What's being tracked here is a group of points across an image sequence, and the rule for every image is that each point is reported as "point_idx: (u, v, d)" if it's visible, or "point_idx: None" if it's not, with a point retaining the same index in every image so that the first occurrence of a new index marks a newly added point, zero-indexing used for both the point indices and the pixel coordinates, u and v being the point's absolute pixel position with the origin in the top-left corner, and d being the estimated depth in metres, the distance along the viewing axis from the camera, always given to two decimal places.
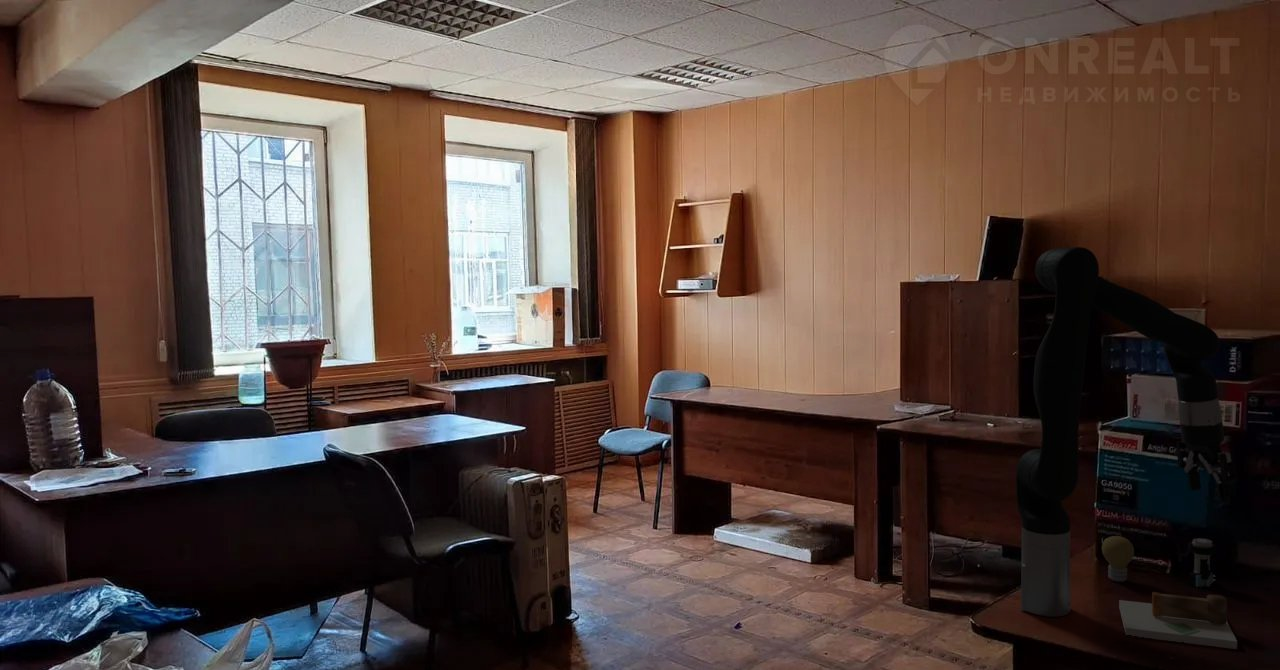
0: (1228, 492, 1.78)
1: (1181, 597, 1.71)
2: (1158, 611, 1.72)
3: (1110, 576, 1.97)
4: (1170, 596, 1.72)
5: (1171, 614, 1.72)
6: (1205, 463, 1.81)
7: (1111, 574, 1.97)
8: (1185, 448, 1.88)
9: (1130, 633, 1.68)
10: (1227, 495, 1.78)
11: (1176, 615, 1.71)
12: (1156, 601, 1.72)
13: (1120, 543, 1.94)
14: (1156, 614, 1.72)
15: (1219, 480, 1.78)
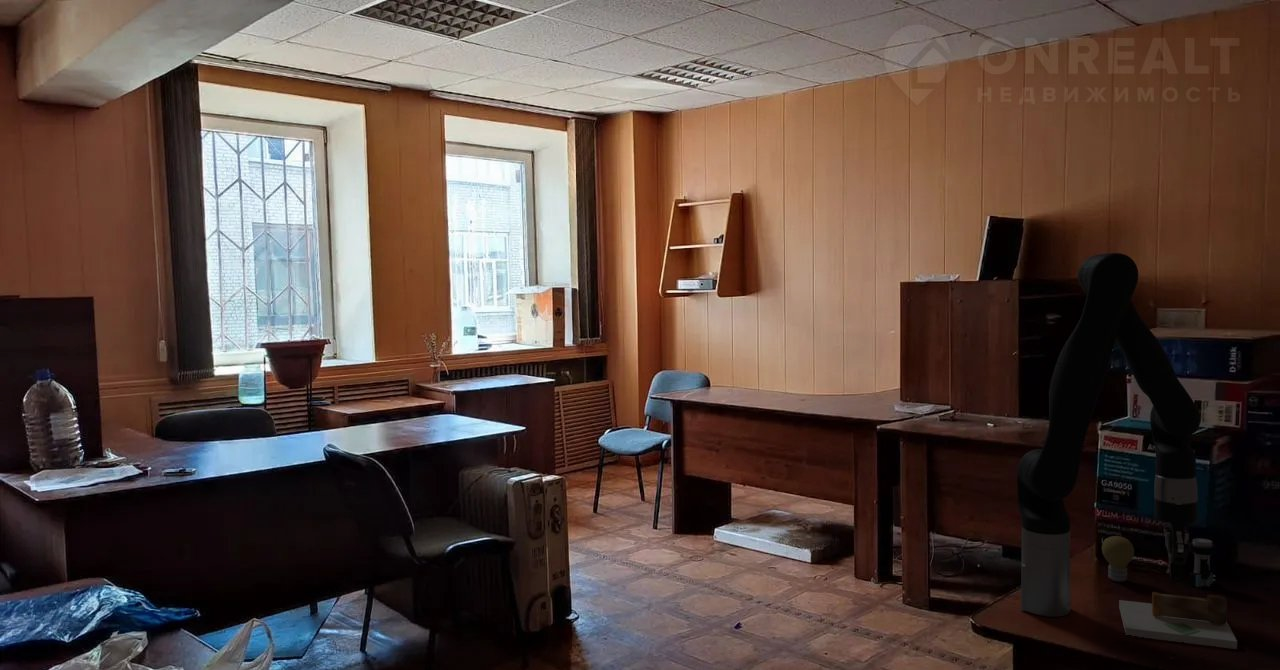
0: (1179, 573, 1.77)
1: (1181, 597, 1.71)
2: (1158, 611, 1.72)
3: (1110, 576, 1.97)
4: (1170, 596, 1.72)
5: (1171, 614, 1.72)
6: (1167, 540, 1.78)
7: (1111, 574, 1.97)
8: None
9: (1130, 633, 1.68)
10: (1177, 576, 1.77)
11: (1176, 615, 1.71)
12: (1156, 601, 1.72)
13: (1120, 543, 1.94)
14: (1156, 614, 1.72)
15: (1170, 559, 1.78)
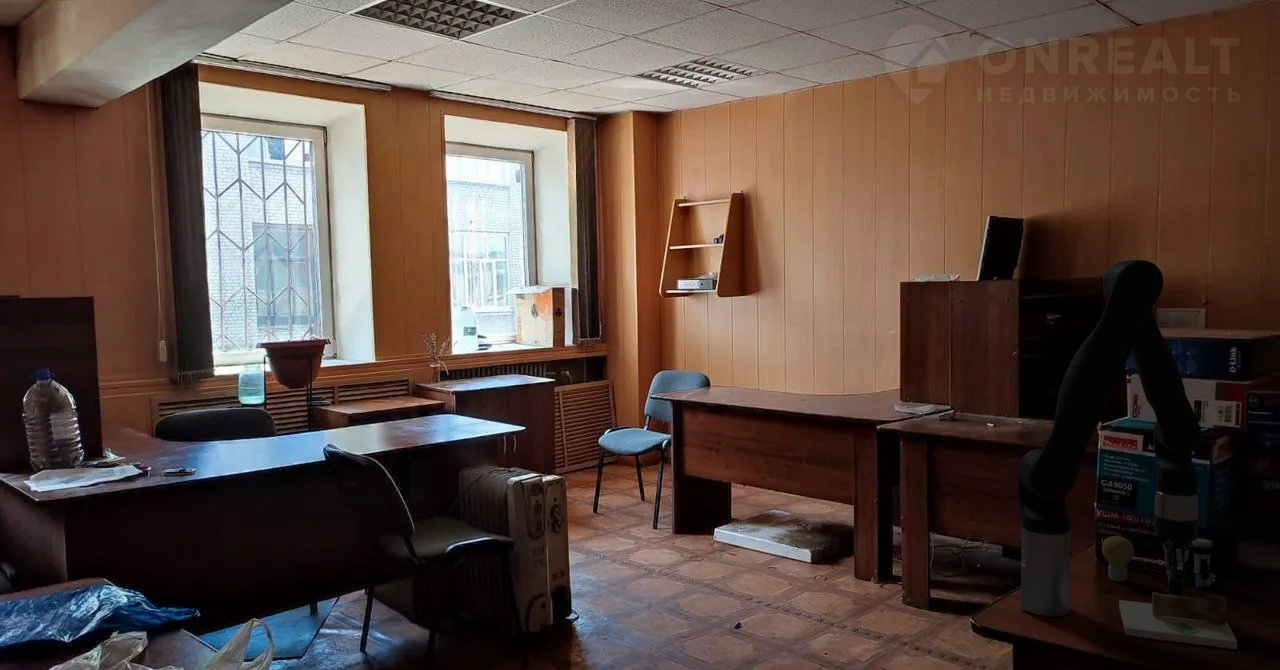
0: (1177, 591, 1.76)
1: (1181, 597, 1.71)
2: (1158, 611, 1.72)
3: (1110, 576, 1.97)
4: (1170, 596, 1.72)
5: (1171, 614, 1.72)
6: (1166, 557, 1.77)
7: (1111, 574, 1.97)
8: None
9: (1130, 633, 1.68)
10: (1176, 593, 1.76)
11: (1176, 615, 1.71)
12: (1156, 601, 1.72)
13: (1120, 543, 1.94)
14: (1156, 614, 1.72)
15: (1169, 576, 1.77)
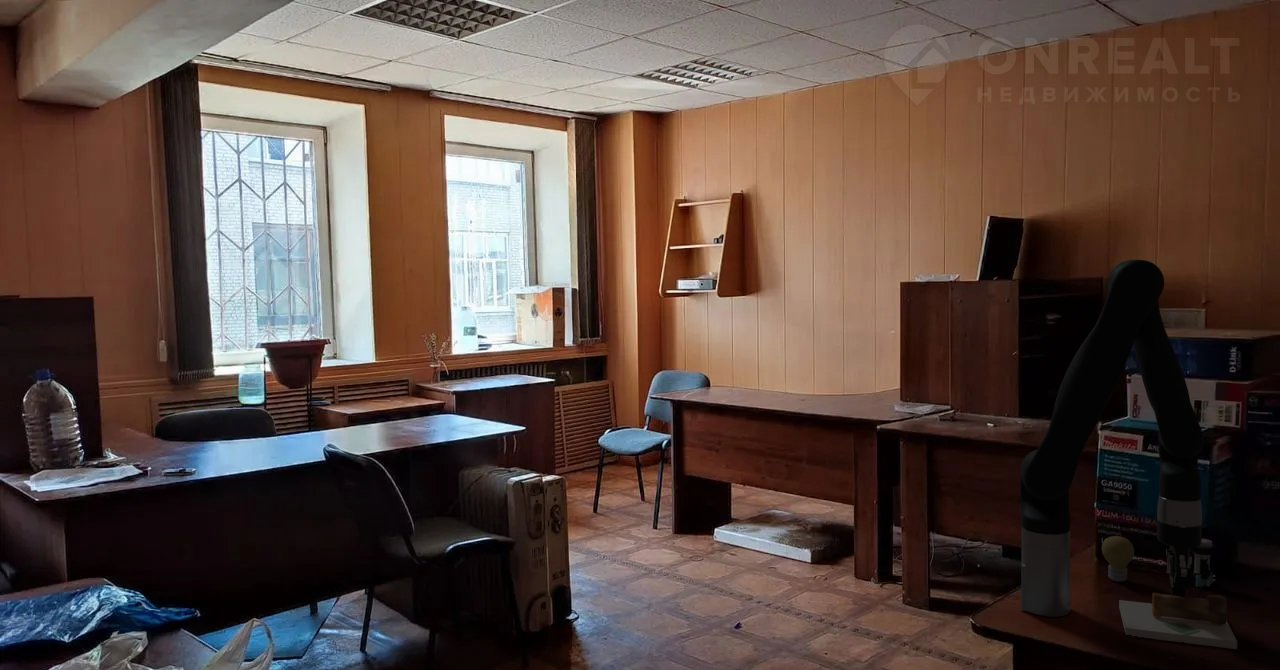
0: None
1: (1181, 597, 1.71)
2: (1158, 612, 1.72)
3: (1110, 576, 1.97)
4: (1170, 596, 1.71)
5: (1171, 615, 1.71)
6: (1169, 564, 1.73)
7: (1111, 574, 1.97)
8: None
9: (1130, 633, 1.68)
10: None
11: (1176, 615, 1.71)
12: (1156, 602, 1.72)
13: (1120, 543, 1.94)
14: (1156, 615, 1.72)
15: (1172, 583, 1.73)
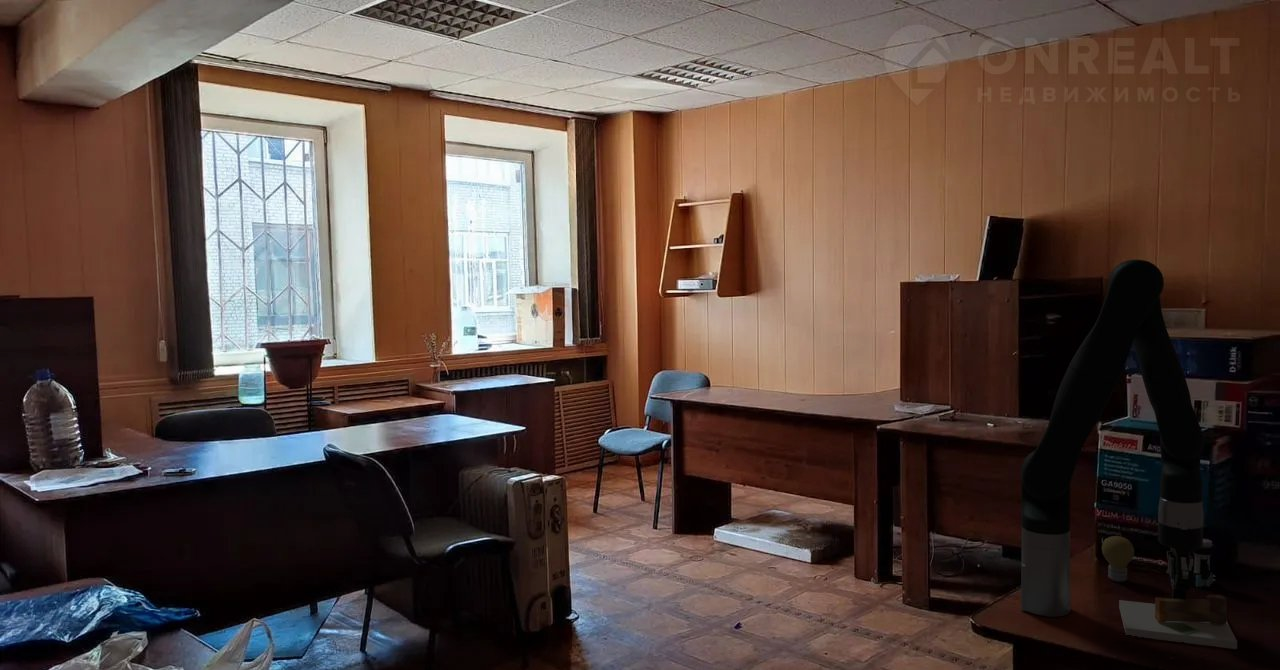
0: None
1: (1184, 600, 1.69)
2: (1164, 617, 1.70)
3: (1110, 576, 1.97)
4: (1174, 600, 1.70)
5: (1176, 618, 1.69)
6: (1170, 566, 1.71)
7: (1111, 574, 1.97)
8: None
9: (1130, 633, 1.68)
10: None
11: (1180, 619, 1.69)
12: (1162, 607, 1.69)
13: (1120, 543, 1.94)
14: (1162, 620, 1.70)
15: (1173, 585, 1.71)
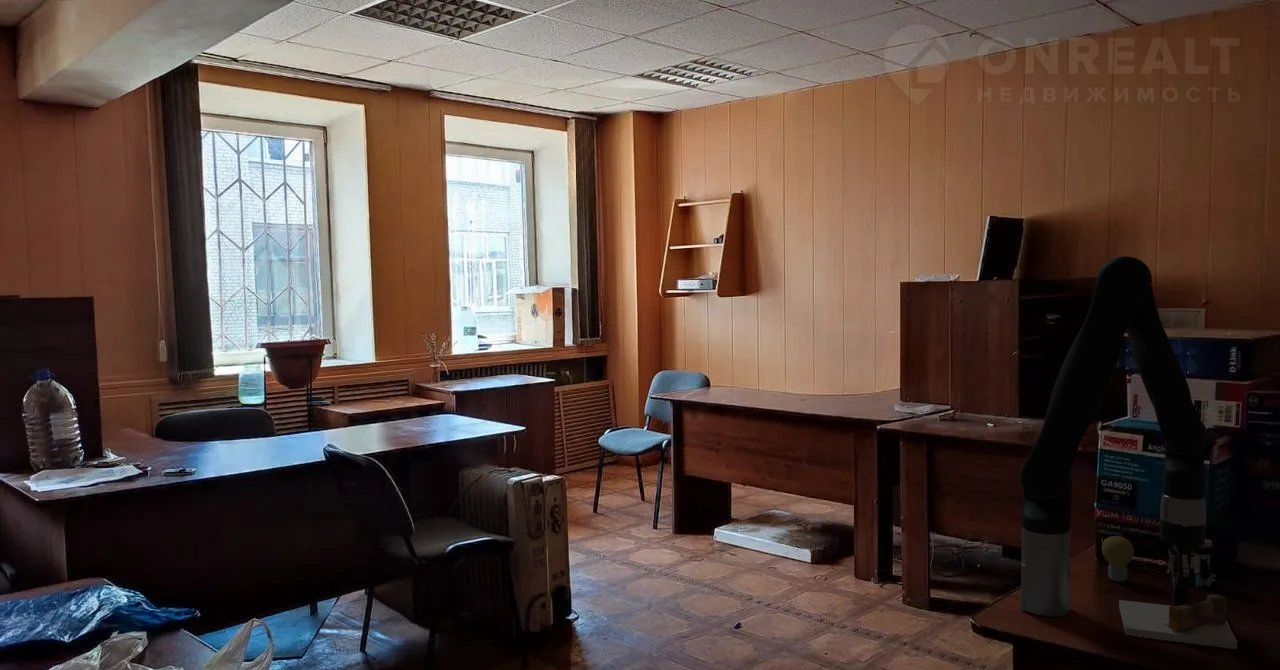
0: (1183, 599, 1.68)
1: (1194, 605, 1.67)
2: (1180, 625, 1.65)
3: (1110, 576, 1.97)
4: (1187, 607, 1.66)
5: (1189, 625, 1.66)
6: (1172, 563, 1.69)
7: (1111, 574, 1.97)
8: None
9: (1130, 633, 1.68)
10: (1181, 601, 1.69)
11: (1192, 625, 1.66)
12: (1179, 615, 1.65)
13: (1120, 543, 1.94)
14: (1179, 629, 1.65)
15: (1174, 583, 1.69)
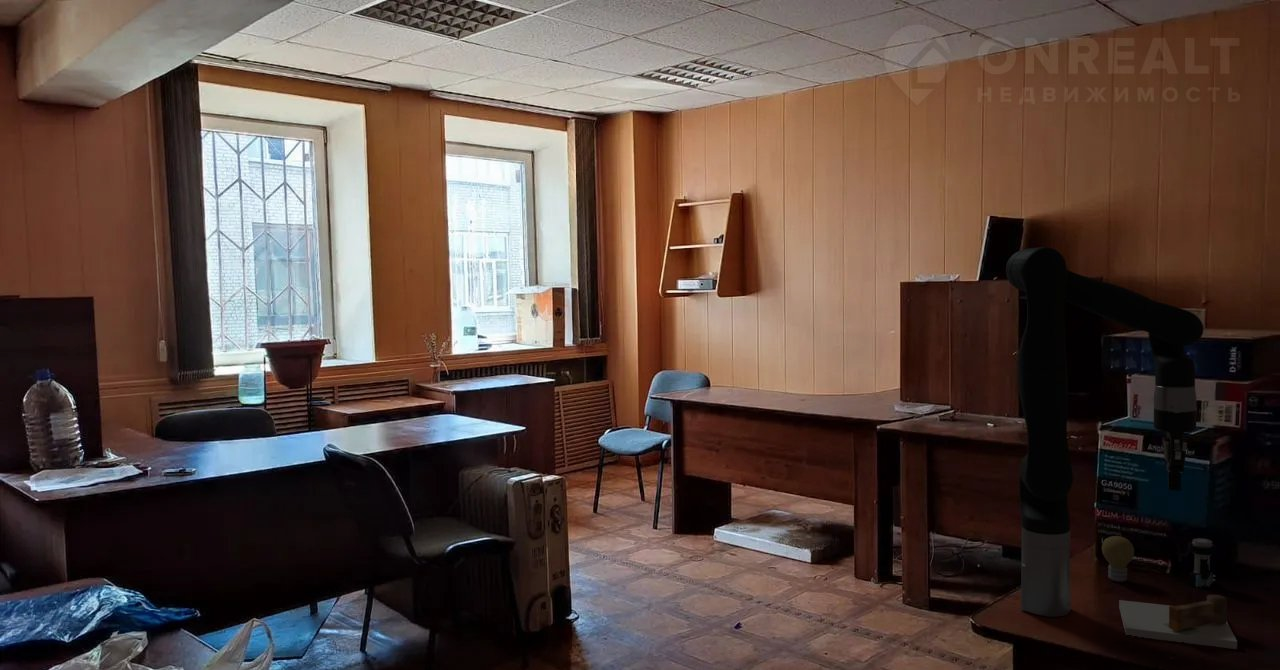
0: (1176, 482, 1.80)
1: (1194, 605, 1.67)
2: (1180, 625, 1.65)
3: (1110, 576, 1.97)
4: (1187, 607, 1.66)
5: (1189, 625, 1.66)
6: (1165, 450, 1.80)
7: (1111, 574, 1.97)
8: None
9: (1130, 633, 1.68)
10: (1175, 485, 1.80)
11: (1192, 625, 1.66)
12: (1179, 615, 1.65)
13: (1120, 543, 1.94)
14: (1179, 629, 1.65)
15: (1168, 468, 1.80)
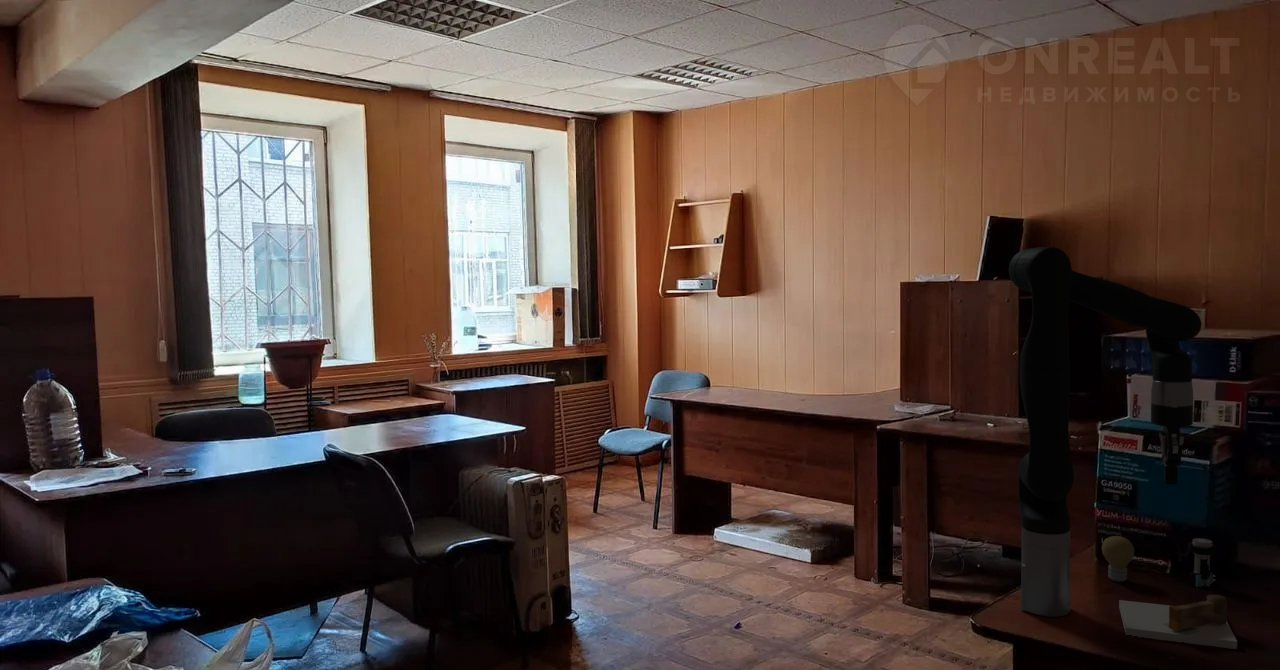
0: (1173, 476, 1.82)
1: (1194, 605, 1.67)
2: (1180, 625, 1.65)
3: (1110, 576, 1.97)
4: (1187, 607, 1.66)
5: (1189, 625, 1.66)
6: (1162, 444, 1.82)
7: (1111, 574, 1.97)
8: None
9: (1130, 633, 1.68)
10: (1172, 479, 1.82)
11: (1192, 625, 1.66)
12: (1179, 615, 1.65)
13: (1120, 543, 1.94)
14: (1179, 629, 1.65)
15: (1165, 462, 1.83)
